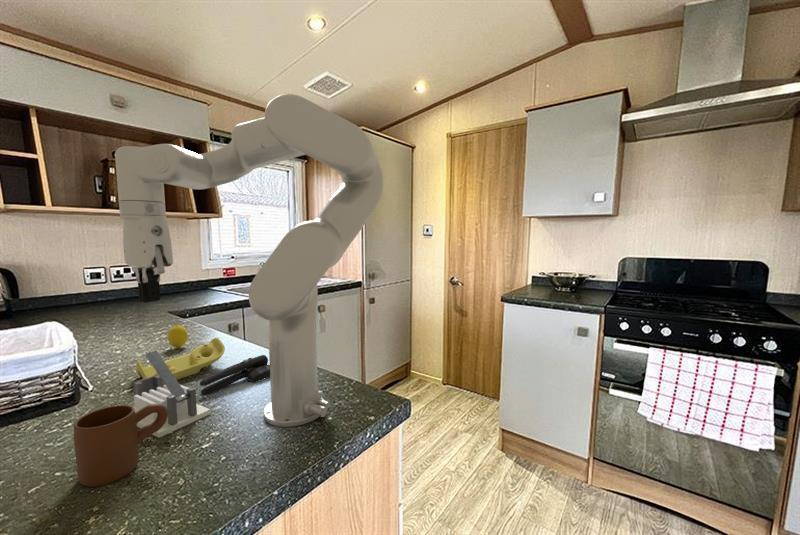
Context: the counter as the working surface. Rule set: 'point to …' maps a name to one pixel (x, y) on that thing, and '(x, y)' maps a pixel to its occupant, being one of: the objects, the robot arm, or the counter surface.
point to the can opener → (238, 374)
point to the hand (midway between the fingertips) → (150, 300)
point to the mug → (112, 441)
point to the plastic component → (188, 361)
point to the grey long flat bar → (167, 376)
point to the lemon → (177, 336)
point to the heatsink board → (166, 405)
